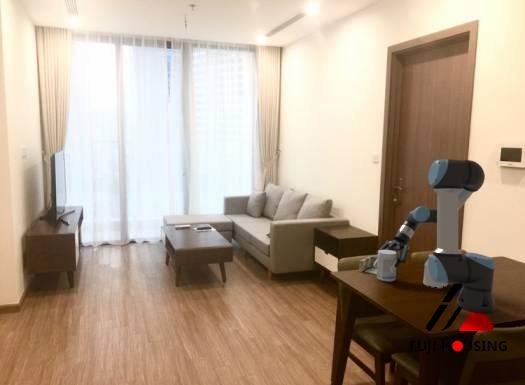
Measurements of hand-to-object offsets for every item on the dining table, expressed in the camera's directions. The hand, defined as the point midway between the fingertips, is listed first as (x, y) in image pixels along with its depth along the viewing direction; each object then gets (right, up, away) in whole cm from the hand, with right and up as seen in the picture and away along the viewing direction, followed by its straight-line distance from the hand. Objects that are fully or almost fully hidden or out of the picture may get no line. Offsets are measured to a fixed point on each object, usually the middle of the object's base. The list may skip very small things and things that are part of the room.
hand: (382, 269), depth 218 cm
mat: (+1, -4, +15) cm, 16 cm away
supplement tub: (+2, -6, +3) cm, 7 cm away
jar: (+26, -7, -4) cm, 27 cm away
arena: (+1, -4, +15) cm, 16 cm away
